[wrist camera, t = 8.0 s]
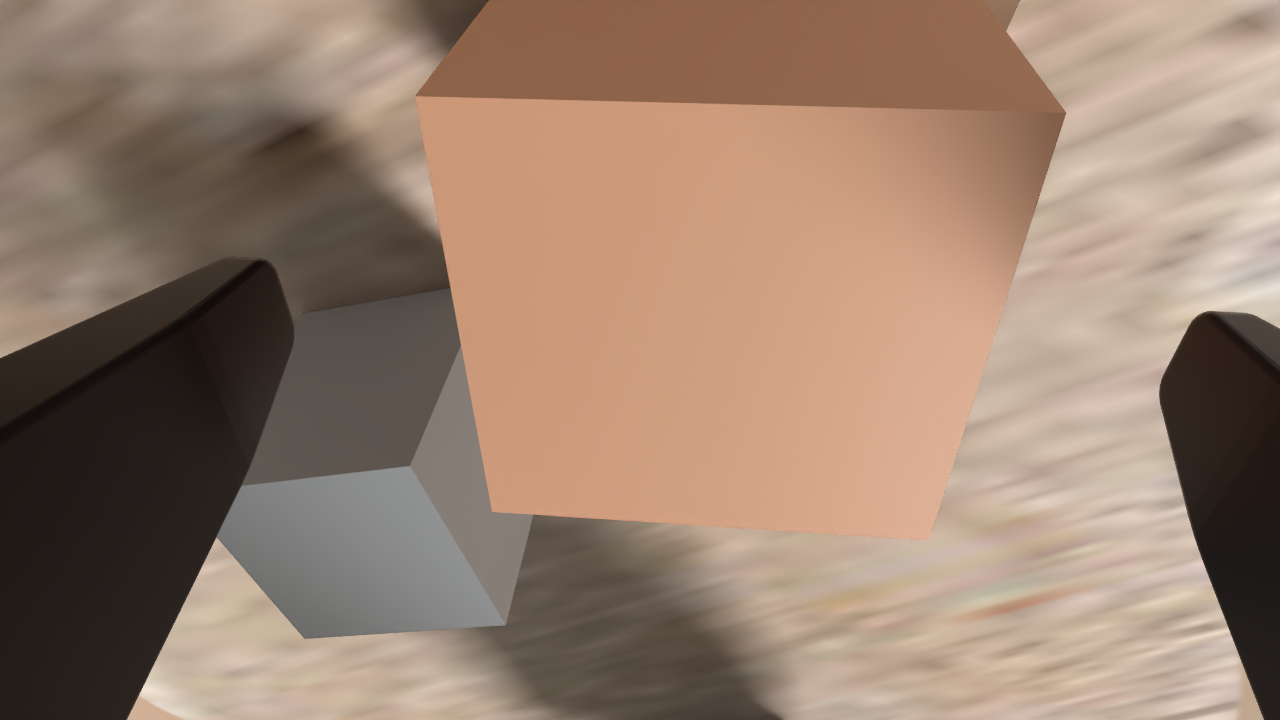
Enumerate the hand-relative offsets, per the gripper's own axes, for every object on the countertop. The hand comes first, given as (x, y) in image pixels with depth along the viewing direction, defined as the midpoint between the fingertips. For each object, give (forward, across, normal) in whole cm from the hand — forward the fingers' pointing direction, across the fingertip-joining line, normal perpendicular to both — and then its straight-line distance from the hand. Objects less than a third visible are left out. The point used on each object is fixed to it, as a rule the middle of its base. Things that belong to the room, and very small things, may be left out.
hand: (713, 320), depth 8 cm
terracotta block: (+6, 0, 0) cm, 6 cm away
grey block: (+9, +7, +9) cm, 15 cm away
